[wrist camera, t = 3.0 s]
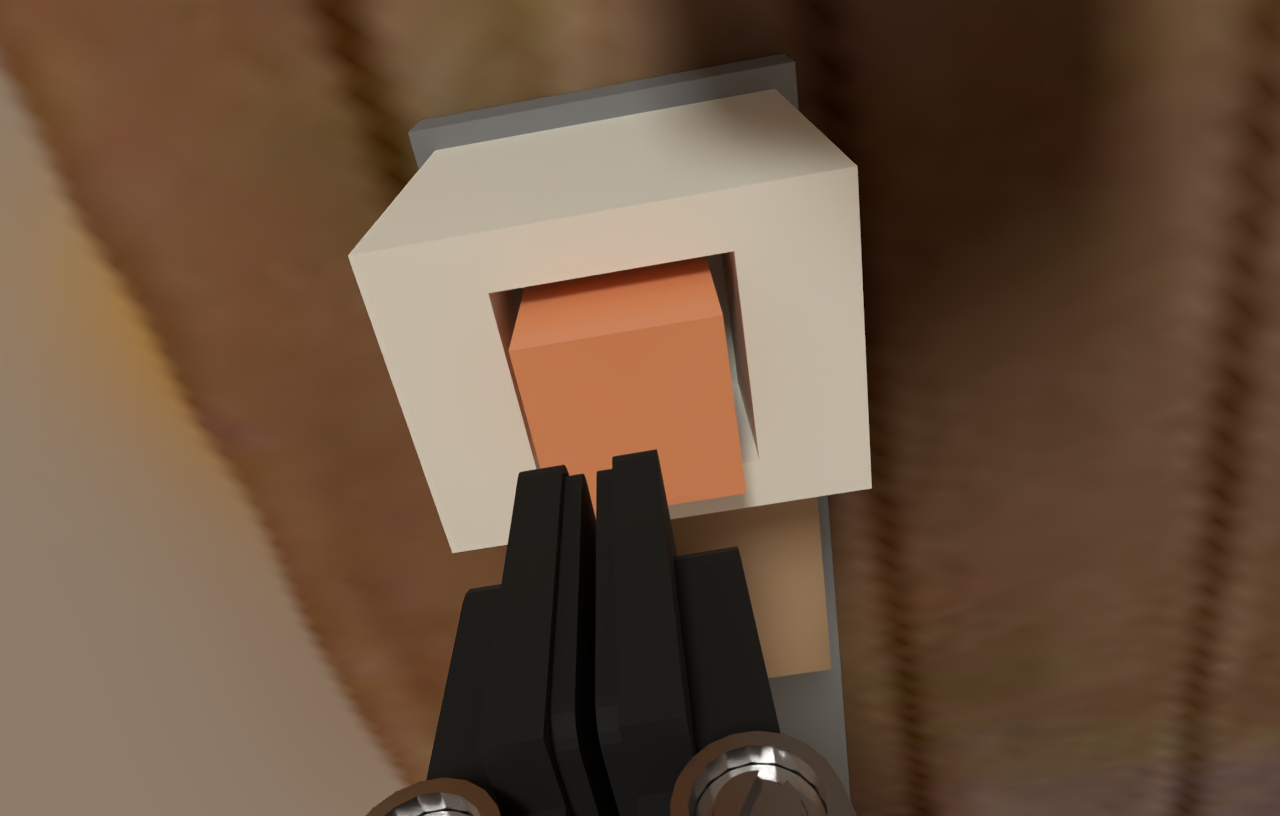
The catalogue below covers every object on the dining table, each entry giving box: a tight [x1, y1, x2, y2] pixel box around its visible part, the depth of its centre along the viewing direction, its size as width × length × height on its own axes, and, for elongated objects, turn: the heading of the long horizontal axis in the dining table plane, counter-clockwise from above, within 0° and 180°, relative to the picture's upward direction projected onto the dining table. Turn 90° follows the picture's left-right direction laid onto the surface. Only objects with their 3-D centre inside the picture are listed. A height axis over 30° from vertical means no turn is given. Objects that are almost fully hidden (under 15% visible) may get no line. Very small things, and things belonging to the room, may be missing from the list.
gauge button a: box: [509, 256, 746, 517], centre depth 15 cm, size 3×3×4 cm
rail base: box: [348, 53, 872, 801], centre depth 26 cm, size 9×36×9 cm, turn 10°
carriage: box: [671, 497, 831, 678], centre depth 19 cm, size 7×6×10 cm
